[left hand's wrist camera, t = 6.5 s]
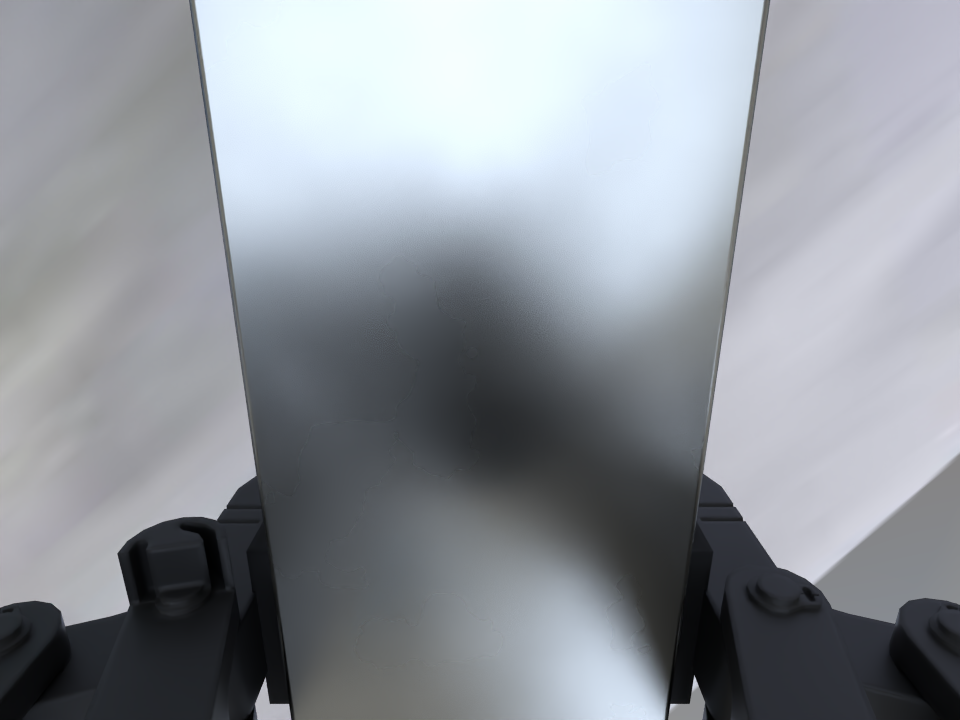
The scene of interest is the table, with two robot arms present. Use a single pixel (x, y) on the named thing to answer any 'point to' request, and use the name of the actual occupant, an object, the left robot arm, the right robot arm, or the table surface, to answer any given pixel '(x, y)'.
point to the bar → (479, 334)
